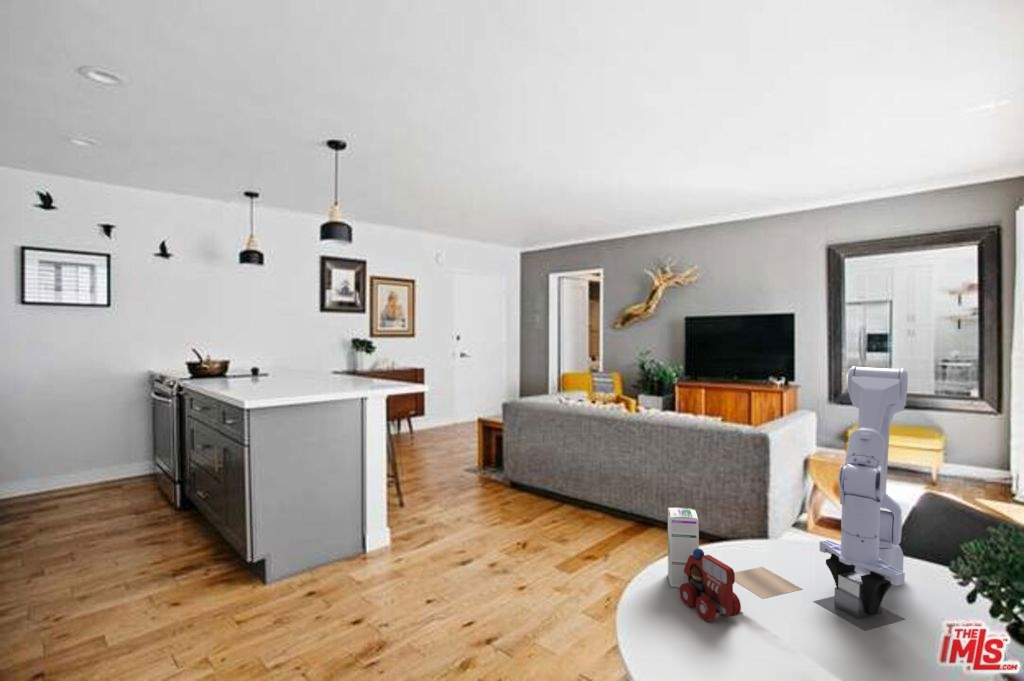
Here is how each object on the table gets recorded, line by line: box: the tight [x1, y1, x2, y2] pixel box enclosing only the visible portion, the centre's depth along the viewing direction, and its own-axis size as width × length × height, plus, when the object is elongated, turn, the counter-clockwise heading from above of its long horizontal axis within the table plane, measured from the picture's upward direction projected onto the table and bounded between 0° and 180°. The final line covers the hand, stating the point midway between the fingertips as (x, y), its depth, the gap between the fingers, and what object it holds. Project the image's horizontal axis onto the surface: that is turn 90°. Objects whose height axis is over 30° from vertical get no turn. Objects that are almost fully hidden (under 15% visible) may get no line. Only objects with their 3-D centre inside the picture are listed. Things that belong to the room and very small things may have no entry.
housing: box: [834, 570, 883, 620], centre depth 97 cm, size 6×4×6 cm
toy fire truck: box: [679, 547, 742, 622], centre depth 100 cm, size 7×12×10 cm, turn 18°
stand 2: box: [812, 595, 906, 632], centre depth 97 cm, size 10×10×2 cm
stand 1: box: [734, 566, 803, 600], centre depth 107 cm, size 10×10×2 cm
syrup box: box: [667, 507, 700, 589], centre depth 110 cm, size 6×6×14 cm
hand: (857, 606), depth 97 cm, fingers closed on housing, 4 cm apart
